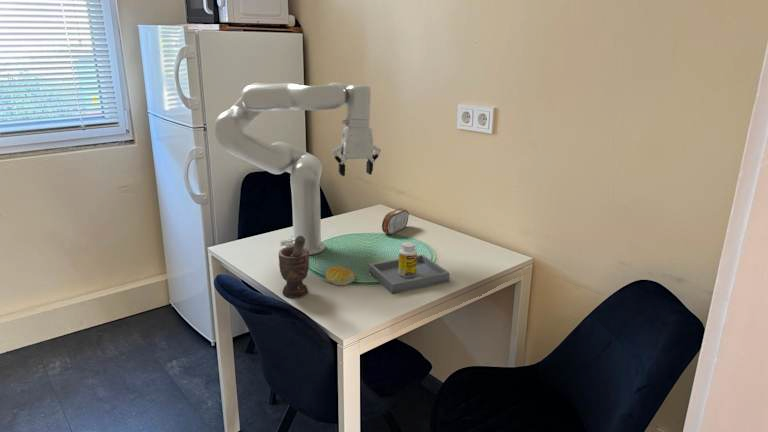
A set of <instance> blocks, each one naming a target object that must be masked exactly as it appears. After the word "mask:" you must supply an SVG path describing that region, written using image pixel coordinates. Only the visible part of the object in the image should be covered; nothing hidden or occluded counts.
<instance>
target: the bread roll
mask: <svg viewBox="0 0 768 432" xmlns="http://www.w3.org/2000/svg"><path fill="white" fill-rule="evenodd" d="M325 280H326V282H327V283H330V284H333V285H335V286H347V285H349V284H352V283H353V282H354V280H355V273H354V272H353V270H351V269H349V268H344V266H343V267H342V266H338V265H337V266H336V265H335V266H332V267H330V268H328V269H327V270H326V273H325Z"/></svg>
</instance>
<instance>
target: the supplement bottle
mask: <svg viewBox="0 0 768 432" xmlns="http://www.w3.org/2000/svg"><path fill="white" fill-rule="evenodd" d="M417 255H418V250H417V249H416V244H415V243H414V242H411V241H405V242H402V244H401V248H400V249H399V252H398V259H399V274H400V275H401V276H403V277H413V276H414V275H415V274H416V265H417Z"/></svg>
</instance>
